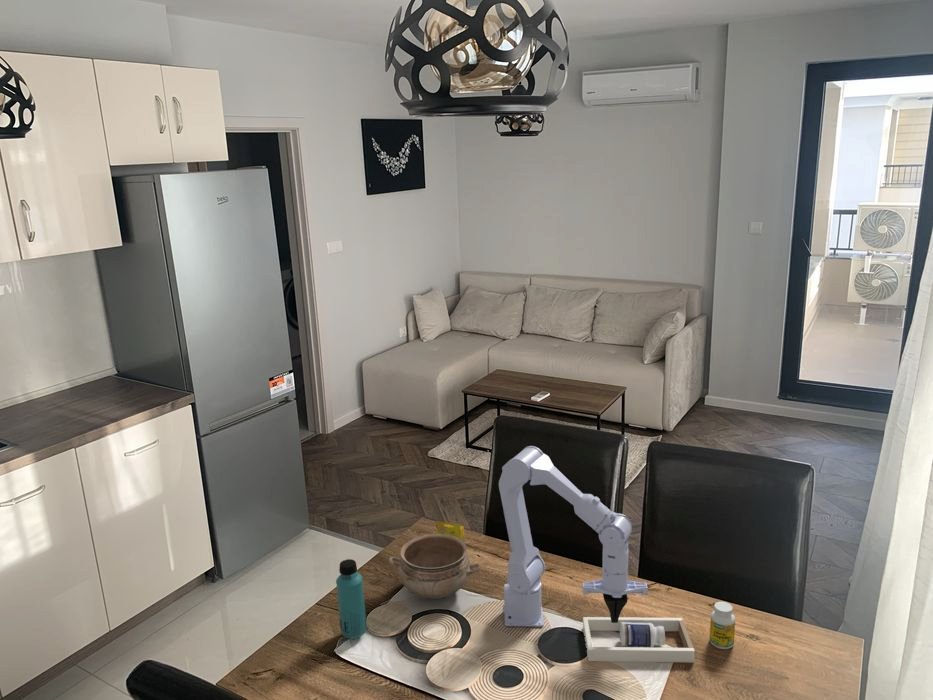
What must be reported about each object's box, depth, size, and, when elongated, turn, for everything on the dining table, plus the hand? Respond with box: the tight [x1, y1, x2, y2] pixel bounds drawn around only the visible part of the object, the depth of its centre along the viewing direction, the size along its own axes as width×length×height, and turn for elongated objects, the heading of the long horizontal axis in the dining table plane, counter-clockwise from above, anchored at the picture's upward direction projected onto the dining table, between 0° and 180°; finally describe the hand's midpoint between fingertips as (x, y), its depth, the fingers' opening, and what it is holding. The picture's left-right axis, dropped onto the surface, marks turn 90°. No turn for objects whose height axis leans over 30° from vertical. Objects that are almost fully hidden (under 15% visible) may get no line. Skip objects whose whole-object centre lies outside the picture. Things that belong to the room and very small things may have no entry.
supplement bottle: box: [709, 601, 736, 650], centre depth 163 cm, size 5×5×10 cm
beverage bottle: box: [335, 558, 368, 639], centre depth 169 cm, size 6×7×20 cm
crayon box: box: [436, 520, 466, 544], centre depth 203 cm, size 7×3×12 cm, turn 69°
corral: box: [582, 616, 696, 663], centre depth 164 cm, size 24×12×3 cm, turn 87°
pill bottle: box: [619, 622, 666, 648], centre depth 164 cm, size 5×5×10 cm
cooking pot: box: [388, 533, 482, 600], centre depth 187 cm, size 25×19×12 cm
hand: (614, 620), depth 163 cm, fingers closed
